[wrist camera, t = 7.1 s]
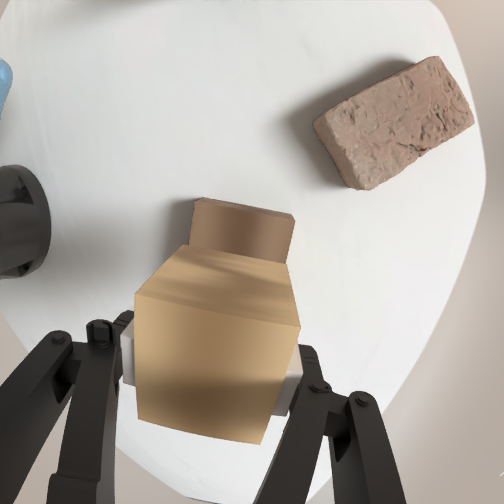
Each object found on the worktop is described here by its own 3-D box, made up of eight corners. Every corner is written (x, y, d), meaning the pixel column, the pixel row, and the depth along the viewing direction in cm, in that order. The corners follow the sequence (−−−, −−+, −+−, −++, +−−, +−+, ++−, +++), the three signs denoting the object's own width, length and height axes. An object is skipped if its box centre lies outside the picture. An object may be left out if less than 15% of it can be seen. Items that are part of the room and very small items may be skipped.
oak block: (172, 344, 19) (138, 419, 12) (182, 243, 17) (134, 293, 10) (261, 362, 19) (260, 444, 12) (286, 264, 17) (300, 327, 10)
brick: (350, 192, 29) (366, 197, 25) (306, 123, 27) (315, 115, 23) (455, 124, 26) (479, 121, 22) (420, 62, 25) (440, 51, 20)
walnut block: (191, 278, 32) (182, 293, 28) (203, 197, 30) (194, 201, 26) (272, 294, 33) (273, 311, 29) (291, 213, 30) (295, 220, 26)
